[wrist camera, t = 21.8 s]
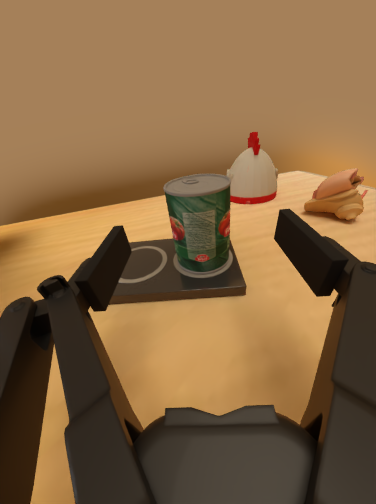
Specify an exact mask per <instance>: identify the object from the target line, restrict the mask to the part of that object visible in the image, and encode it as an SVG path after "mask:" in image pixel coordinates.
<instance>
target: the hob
mask: <svg viewBox="0 0 376 504" xmlns="http://www.w3.org/2000/svg"><path fill="white" fill-rule="evenodd" d="M229 240H230V239H229ZM129 245H130V247H131V250H132V253H131V255H130V257H129V259H128V262H127V264H126V266H125V268H124V271H123V273H122V275H121V277H120V280H119V282H118V284H117V286H116V289H115V291H114V293H113V295H112V298H111V300H110V302H109V304H118V303H133V302H147V301H162V300H177V299H191V298H206V297H221V296H235V295H245V294H246V284H245V281H244V278H243V275H242V272H241V269H240V266H239V264H238V261H237V258H236V255H235V252H234V249H233V246H232V244H231V241H229V261H228V263H227V264H226V266H224V267H223V268H222V269H220V270H218V271H216V272H213V273H209V274H194V273H190V272H187V271H185V270H184V269H182V268H181V267H180V266H179V264H178V261H177V254H176V250H175V244H174V239H163V240H152V241H141V242H131V243H129Z"/></svg>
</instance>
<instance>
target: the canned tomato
mask: <svg viewBox="0 0 376 504" xmlns="http://www.w3.org/2000/svg"><path fill="white" fill-rule="evenodd" d="M230 184H231V179H230V178H229V177H227V176H225V175H219V174H196V175H189V176H184V177H180V178H177V179H174V180H171V181H169V182H168V183H166V184H165V185H164V191H165V195H166V202H167V206H168V211H169V217H170V222H171V228H172V233H173V238H174V244H175V250H176V254H177V261H178V264H179V266H180V267H181V268H182V269H184V270H185V271H187V272H190V273H194V274H209V273H213V272H216V271H218V270H220V269H222V268H223V267H224V266H226V264H227V263H228V261H229V241H230V240H229V239H230V235H229V234H230V198H231V195H230Z"/></svg>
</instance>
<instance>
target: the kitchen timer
mask: <svg viewBox="0 0 376 504" xmlns="http://www.w3.org/2000/svg"><path fill="white" fill-rule="evenodd" d="M257 136H258V132H252V133H250V137H249V138H248V149H247V150H245V151H244V152H243V153H241V154H240V156H239V157H238V158H237V159H236V161H235V162H234V163H233V165H232V167H231V169H230V170H229V169H228V170H227V175H226V176H227V177H229V178H230V179H231V184H230V195H231V198H230V201H231V202H235V203H241V204H257V203H263V202H267V201H270V200H272V199H274V198H275V196H276V192H277V178H278V169H275V167H274V165H273V162H272V160H271V159H270V157H269V156H268V154H267V153H266V152H265V151H263V150H262V149H260V145H258V143H259V138H257Z"/></svg>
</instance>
